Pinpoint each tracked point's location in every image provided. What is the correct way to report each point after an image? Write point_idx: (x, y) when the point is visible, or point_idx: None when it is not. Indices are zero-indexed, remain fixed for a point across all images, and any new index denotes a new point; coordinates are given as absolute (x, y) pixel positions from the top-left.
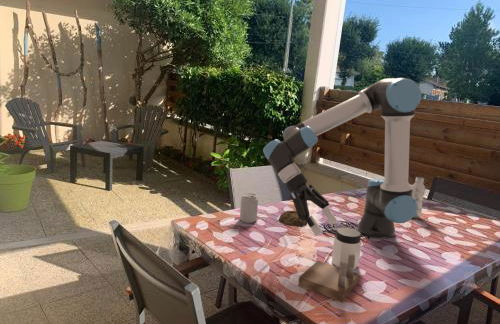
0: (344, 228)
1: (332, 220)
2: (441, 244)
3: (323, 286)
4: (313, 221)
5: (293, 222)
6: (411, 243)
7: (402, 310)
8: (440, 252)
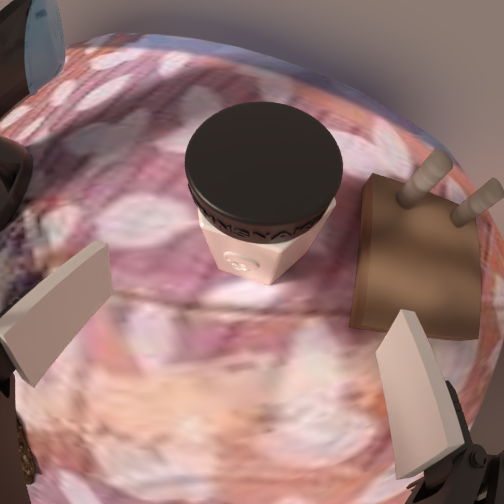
0: (209, 181)
1: (95, 282)
2: (62, 80)
3: (478, 263)
4: (443, 397)
5: (19, 447)
6: (56, 113)
7: (403, 117)
8: (95, 71)
